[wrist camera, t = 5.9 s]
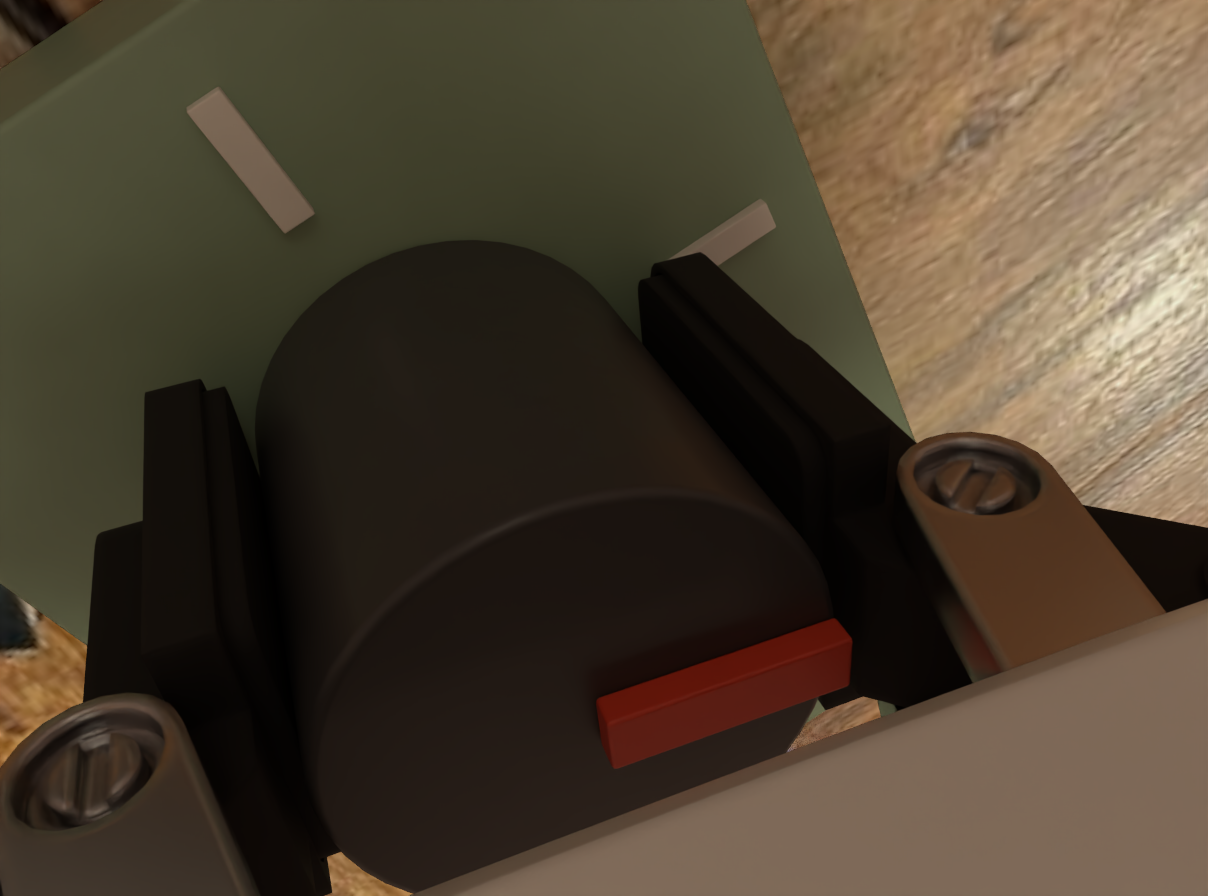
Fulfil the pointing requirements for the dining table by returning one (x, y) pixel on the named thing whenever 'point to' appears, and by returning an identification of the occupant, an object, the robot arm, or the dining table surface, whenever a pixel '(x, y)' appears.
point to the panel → (356, 205)
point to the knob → (516, 567)
